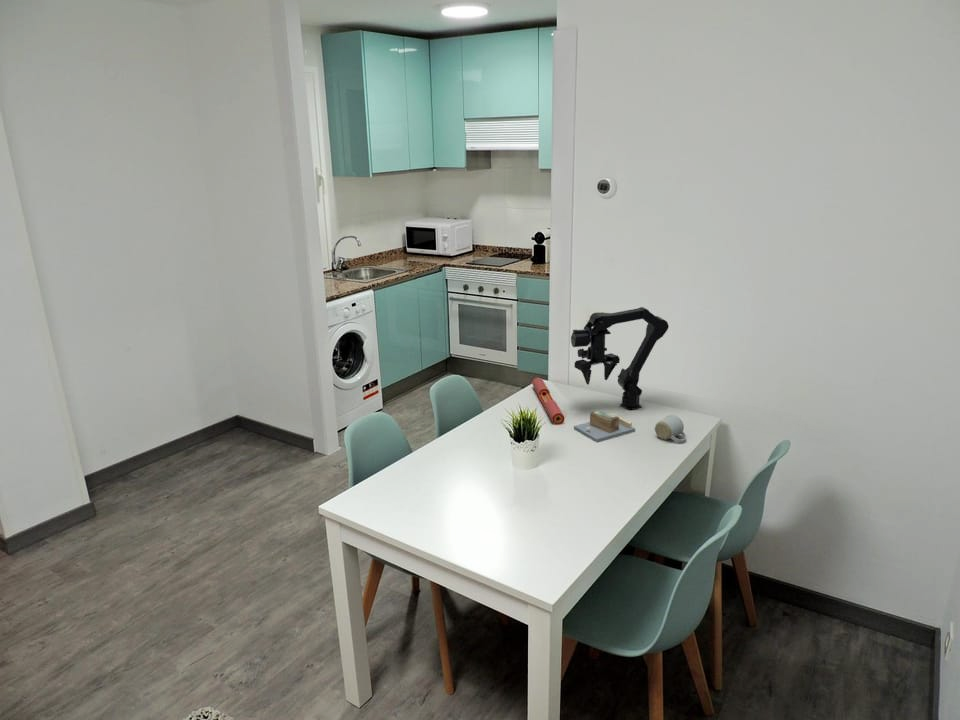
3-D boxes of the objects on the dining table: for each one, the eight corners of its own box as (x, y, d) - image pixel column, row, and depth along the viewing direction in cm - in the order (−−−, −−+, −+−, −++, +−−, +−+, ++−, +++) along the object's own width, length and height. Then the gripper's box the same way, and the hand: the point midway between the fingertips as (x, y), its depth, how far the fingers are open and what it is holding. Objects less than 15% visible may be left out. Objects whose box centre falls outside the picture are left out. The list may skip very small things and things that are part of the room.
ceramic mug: (652, 437, 242) (654, 417, 240) (665, 430, 247) (667, 411, 245) (677, 446, 235) (679, 426, 232) (690, 439, 240) (692, 420, 237)
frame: (599, 421, 254) (599, 408, 253) (618, 429, 247) (619, 416, 245) (589, 424, 251) (590, 412, 250) (609, 433, 244) (610, 420, 242)
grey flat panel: (611, 418, 259) (611, 411, 258) (635, 431, 247) (635, 423, 246) (573, 428, 251) (574, 421, 250) (596, 442, 239) (596, 434, 238)
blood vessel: (532, 388, 295) (532, 377, 294) (543, 387, 296) (543, 377, 294) (551, 425, 256) (552, 413, 254) (564, 424, 256) (564, 412, 255)
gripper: (603, 336, 271) (602, 372, 276) (566, 344, 263) (566, 380, 267) (621, 343, 262) (619, 379, 267) (583, 350, 253) (582, 388, 258)
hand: (596, 382), depth 265 cm, fingers open, 9 cm apart
